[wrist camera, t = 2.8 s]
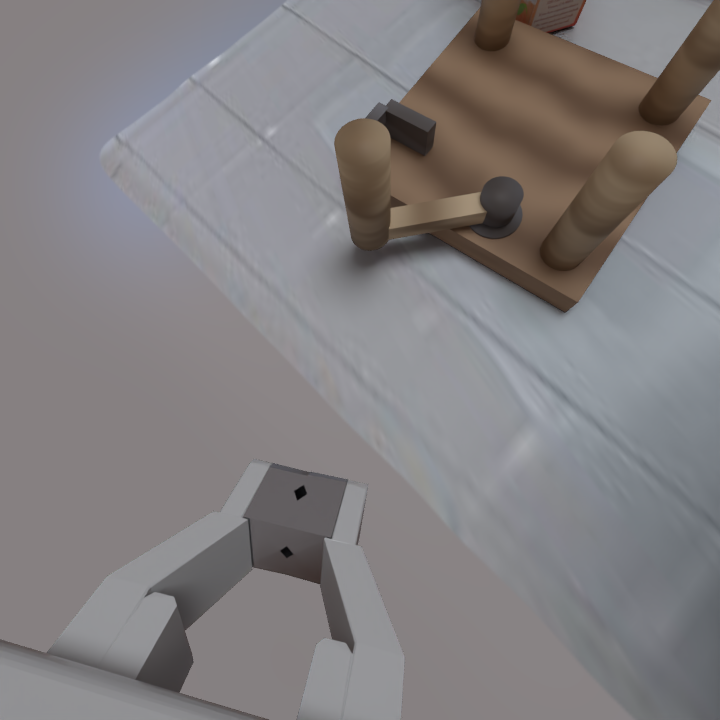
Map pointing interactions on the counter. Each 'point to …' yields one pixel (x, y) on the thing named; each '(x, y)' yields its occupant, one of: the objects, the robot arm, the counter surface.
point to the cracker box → (550, 13)
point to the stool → (545, 142)
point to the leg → (381, 222)
